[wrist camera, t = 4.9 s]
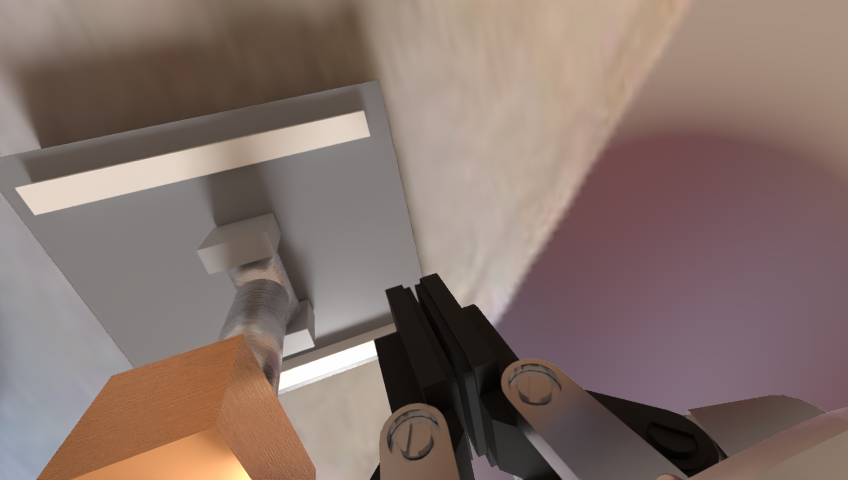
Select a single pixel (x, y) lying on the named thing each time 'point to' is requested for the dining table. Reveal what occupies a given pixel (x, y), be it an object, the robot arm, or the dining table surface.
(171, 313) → the switch panel
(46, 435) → the dining table surface
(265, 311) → the lever
